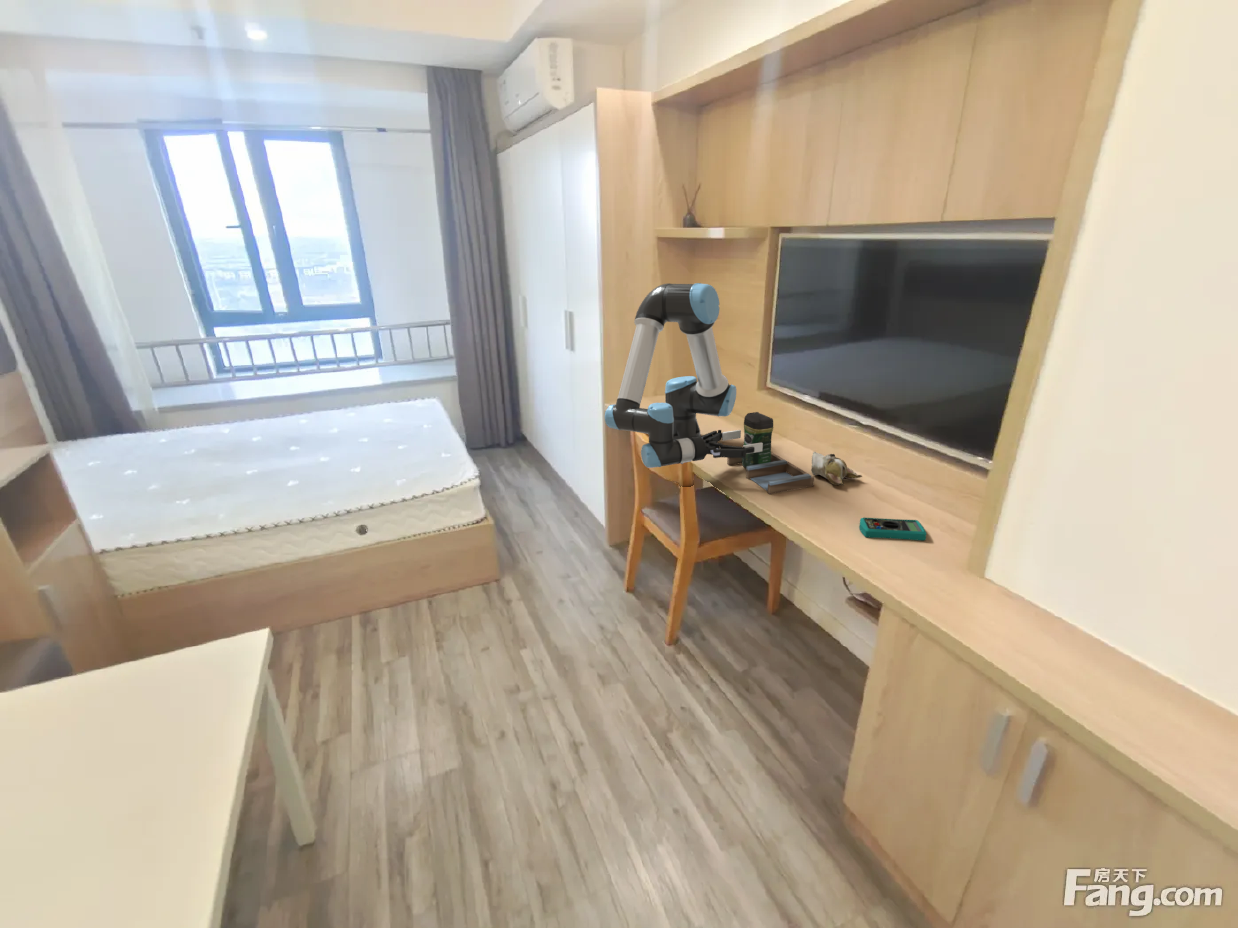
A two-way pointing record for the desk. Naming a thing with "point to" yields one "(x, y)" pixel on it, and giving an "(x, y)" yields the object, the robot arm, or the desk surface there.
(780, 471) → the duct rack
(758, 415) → the coffee jar
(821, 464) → the ceramic sculpture
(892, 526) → the digital multimeter
